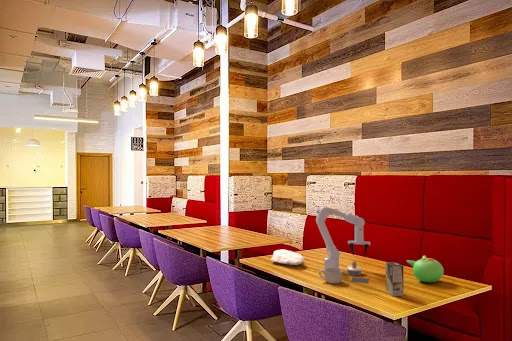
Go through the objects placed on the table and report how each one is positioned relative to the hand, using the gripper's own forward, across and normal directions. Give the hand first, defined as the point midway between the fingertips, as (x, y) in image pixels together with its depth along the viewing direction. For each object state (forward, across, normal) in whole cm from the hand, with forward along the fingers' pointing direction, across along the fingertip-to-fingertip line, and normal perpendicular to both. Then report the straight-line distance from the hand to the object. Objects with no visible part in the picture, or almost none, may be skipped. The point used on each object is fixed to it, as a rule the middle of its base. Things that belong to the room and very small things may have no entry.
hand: (359, 255), depth 251 cm
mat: (+10, +3, -25) cm, 27 cm away
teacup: (+11, -13, -35) cm, 39 cm away
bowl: (+10, -2, -11) cm, 15 cm away
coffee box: (+11, +23, -43) cm, 50 cm away
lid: (+7, -2, -11) cm, 13 cm away
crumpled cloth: (+11, -50, +4) cm, 51 cm away
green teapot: (+11, +41, -12) cm, 44 cm away
